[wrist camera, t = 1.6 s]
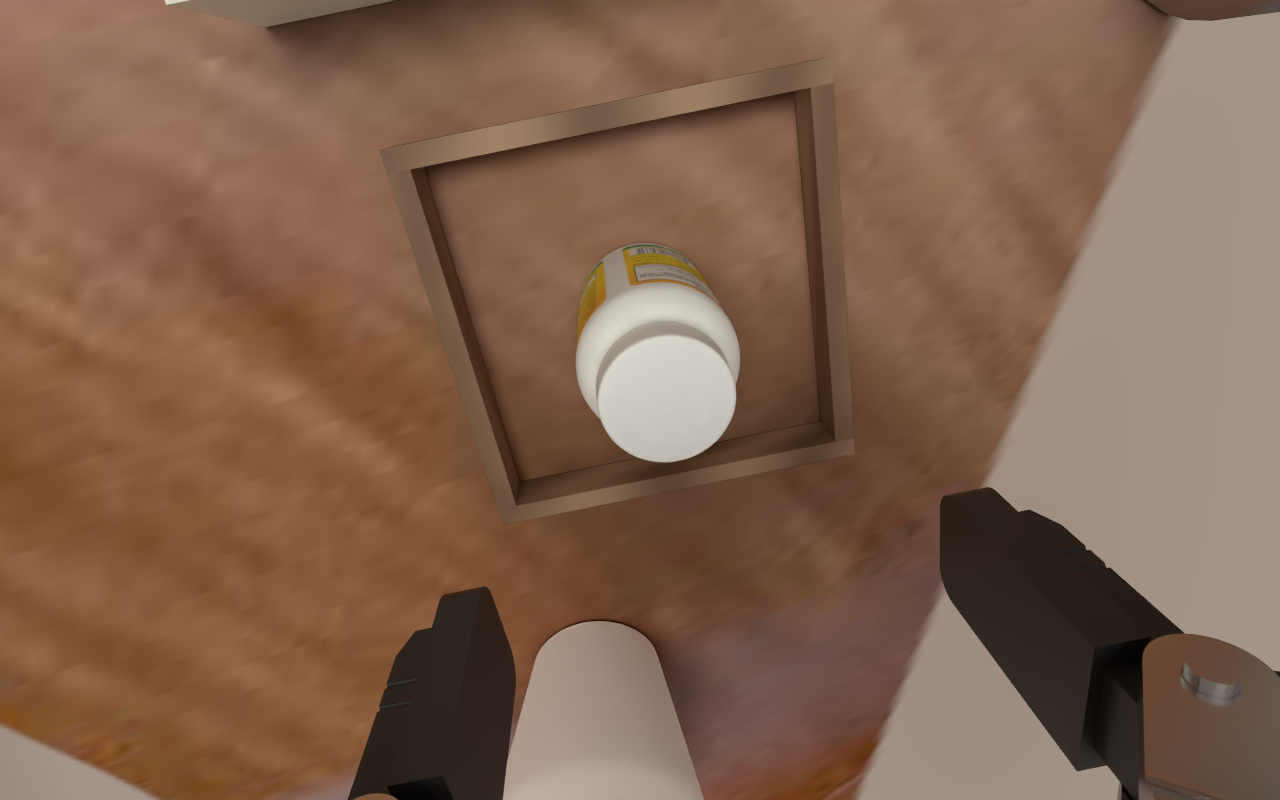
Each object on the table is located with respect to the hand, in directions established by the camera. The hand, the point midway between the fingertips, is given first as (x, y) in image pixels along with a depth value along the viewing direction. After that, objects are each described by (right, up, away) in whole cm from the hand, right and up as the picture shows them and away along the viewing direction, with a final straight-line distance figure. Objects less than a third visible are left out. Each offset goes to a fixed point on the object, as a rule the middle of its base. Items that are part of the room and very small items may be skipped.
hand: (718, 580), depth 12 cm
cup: (-4, -11, +24) cm, 27 cm away
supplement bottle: (-1, +7, +16) cm, 18 cm away
